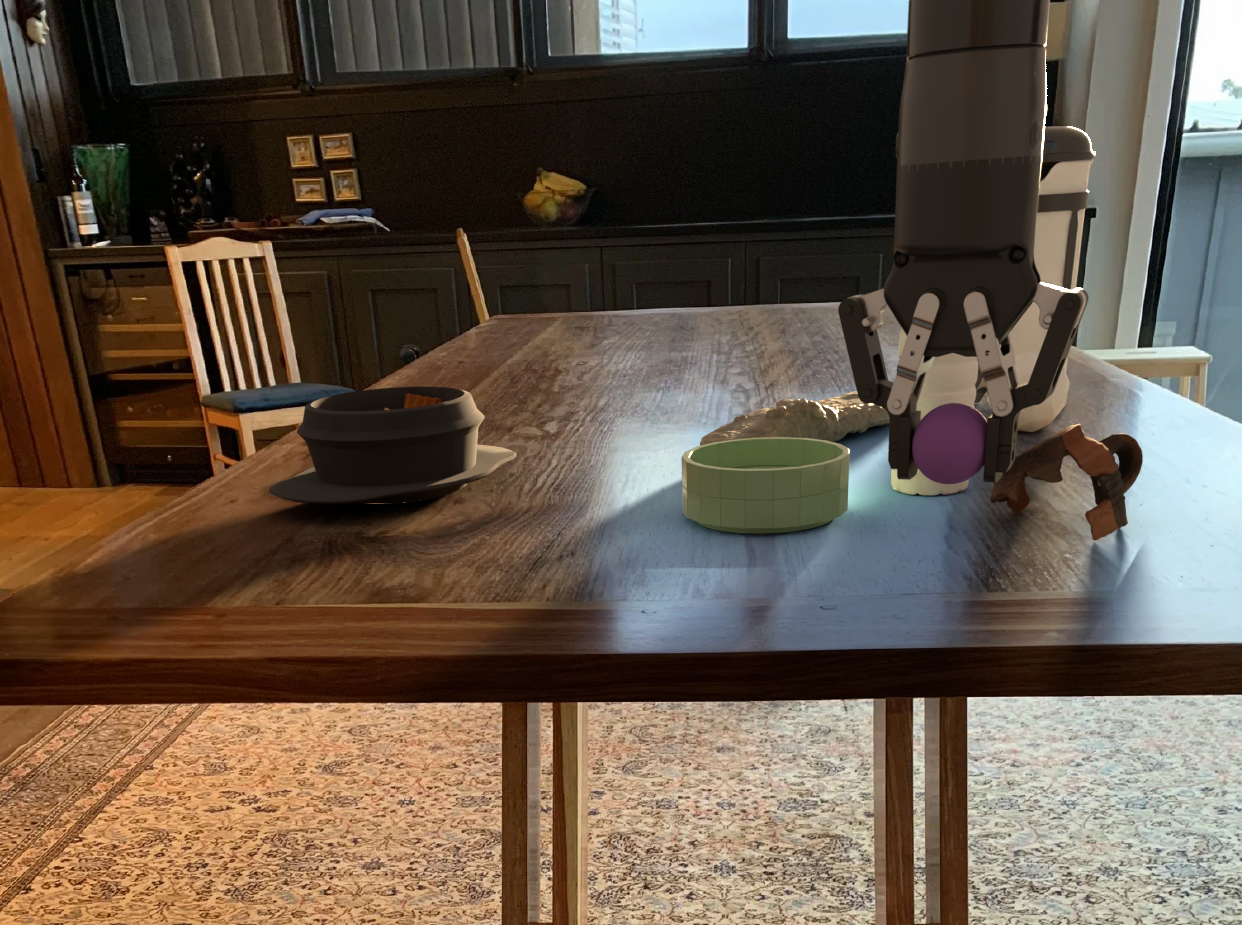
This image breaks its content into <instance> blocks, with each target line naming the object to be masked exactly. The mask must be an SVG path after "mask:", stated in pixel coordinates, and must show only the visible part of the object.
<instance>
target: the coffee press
mask: <svg viewBox="0 0 1242 925" xmlns="http://www.w3.org/2000/svg"><path fill="white" fill-rule="evenodd" d="M1048 112H1049V107H1048V104H1047V103H1046V114H1045V118H1046V116H1047V115H1048ZM1095 158H1096V151H1093V149H1092V142H1091V139H1090V137H1089V136H1088V134H1087V133H1086V132H1084V131H1083V130H1082V129H1080V128H1078V127H1073V126H1063V125H1061V126H1058V125H1057V126H1056V125H1055V126H1044V138H1043V150H1042V162H1041V173H1040V184H1039V196H1038V208H1037V220H1036V232H1035V244H1034V261H1035V265H1036V268H1037V270H1038V272H1039V275H1040V278H1041V282H1042V283H1046V284H1049V285H1053V286H1056V287H1060V288H1064V289H1067V290H1072V289H1075V288H1077V284H1078V283H1077V282H1078V273H1079V266H1080V257H1081V246H1082V238H1083V228H1084V220H1085V214H1086V213H1085V211H1086V210H1087V209H1088V205H1089V196H1090V190H1088V185H1089V176H1090V169H1091V165H1092V164H1093V162H1094V160H1095ZM1039 315H1040V309H1039V307H1038V305H1037V304H1036V303H1035V302H1033V303H1032V304H1031V305H1030V307H1029V308H1028V309H1027V311H1026V312H1025V313H1024V314H1023V316H1022V317H1021V318H1020V320H1019V321H1018V322H1017V324H1016V325H1015V326H1014V328H1013V329H1012V330H1011V331H1010V338H1011V342H1012V346H1013V351H1014V355H1016V354H1018V353H1020V352H1022V351H1036V352H1040V350H1041V347H1042V344H1043V342H1044V339H1045V336H1046V333H1047V331H1048V330H1046V329H1044V328H1042V327H1041V325H1040V323H1039ZM1000 347H1001V344H1000ZM988 354H989V352H988ZM1068 359H1069V355H1068V356H1067V358H1066V361H1065V364H1064V366H1063V368H1064V370H1065V372H1066V373H1067V367H1068ZM977 361H978V360H977ZM975 387H976V398H975V401H974V404H977V403H978V404H979V403H980V402H981V401H982V399H983V398H984V396H985V394H986V393H988V392H987V387H986V383H985V380H984V378H983V377H982V375H981V372H980V368H979V364H978V376H977V382H976V383H975Z"/></svg>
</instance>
